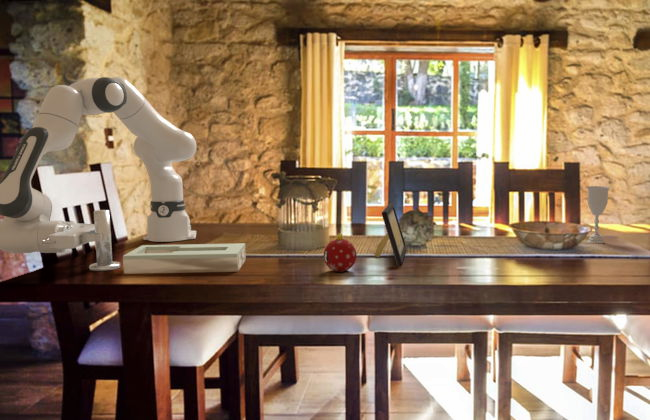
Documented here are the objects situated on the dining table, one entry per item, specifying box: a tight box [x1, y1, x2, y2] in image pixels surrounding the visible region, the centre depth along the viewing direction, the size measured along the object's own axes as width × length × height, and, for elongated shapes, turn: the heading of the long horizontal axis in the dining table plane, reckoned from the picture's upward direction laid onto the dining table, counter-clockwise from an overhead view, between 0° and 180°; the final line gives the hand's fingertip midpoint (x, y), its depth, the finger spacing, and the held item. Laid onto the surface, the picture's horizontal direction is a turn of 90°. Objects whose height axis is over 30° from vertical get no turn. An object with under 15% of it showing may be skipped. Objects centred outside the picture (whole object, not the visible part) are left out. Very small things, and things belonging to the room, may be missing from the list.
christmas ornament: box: [323, 233, 358, 273], centre depth 144 cm, size 9×9×10 cm
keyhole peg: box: [88, 209, 121, 272], centre depth 153 cm, size 8×8×16 cm
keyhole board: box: [122, 242, 247, 275], centre depth 154 cm, size 16×30×5 cm, turn 91°
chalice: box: [586, 185, 610, 244], centre depth 180 cm, size 7×7×18 cm
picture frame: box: [374, 202, 407, 266], centre depth 162 cm, size 23×9×15 cm, turn 168°
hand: (106, 235), depth 153 cm, fingers closed on keyhole peg, 4 cm apart
